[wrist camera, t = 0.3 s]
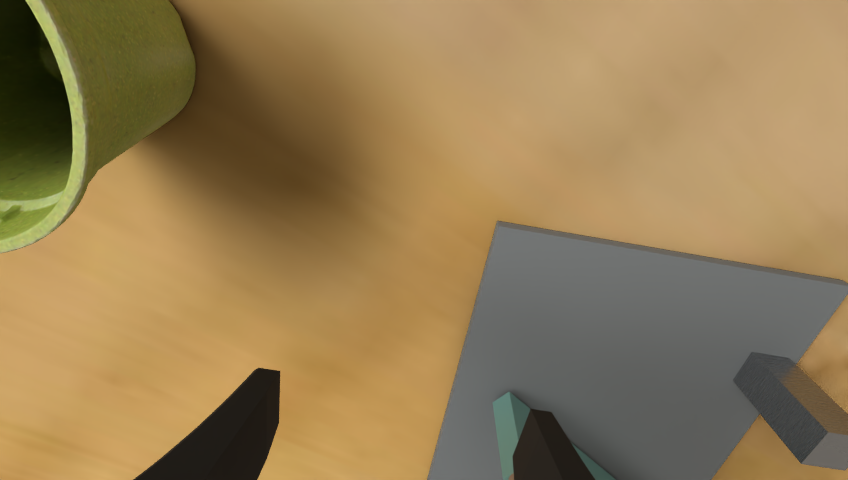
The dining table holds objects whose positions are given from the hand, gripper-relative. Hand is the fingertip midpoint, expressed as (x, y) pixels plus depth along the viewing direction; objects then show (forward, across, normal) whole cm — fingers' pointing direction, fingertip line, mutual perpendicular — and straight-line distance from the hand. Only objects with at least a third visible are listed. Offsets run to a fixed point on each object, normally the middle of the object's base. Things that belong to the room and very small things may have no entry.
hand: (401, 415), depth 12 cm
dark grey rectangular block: (+10, -19, +3) cm, 21 cm away
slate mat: (+10, -12, +8) cm, 17 cm away
